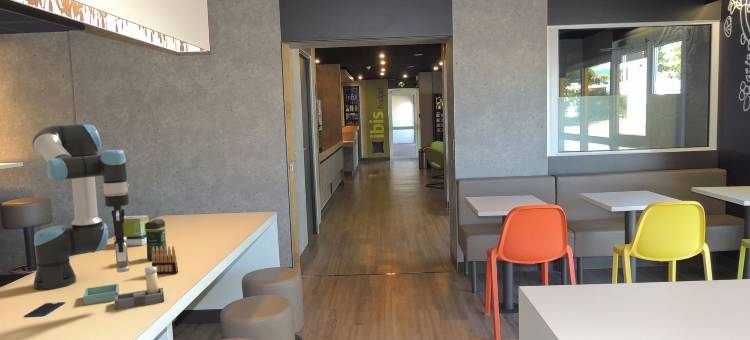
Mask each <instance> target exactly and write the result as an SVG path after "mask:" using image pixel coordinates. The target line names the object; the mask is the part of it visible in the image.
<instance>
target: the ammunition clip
mask: <svg viewBox="0 0 750 340" xmlns="http://www.w3.org/2000/svg"><path fill="white" fill-rule="evenodd" d="M152 266H155V267H157V276H158V275H177V274H178V273H179V268H178V261H177V255H176V249H175V246H174V245H172V247H171V246H170V245H168V247H167V249H166V247H165V246H164V255H163V249H162V247H160V255H159V249H158V247H156V255H155V249H154V247H152V260H151V267H152Z"/></svg>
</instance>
